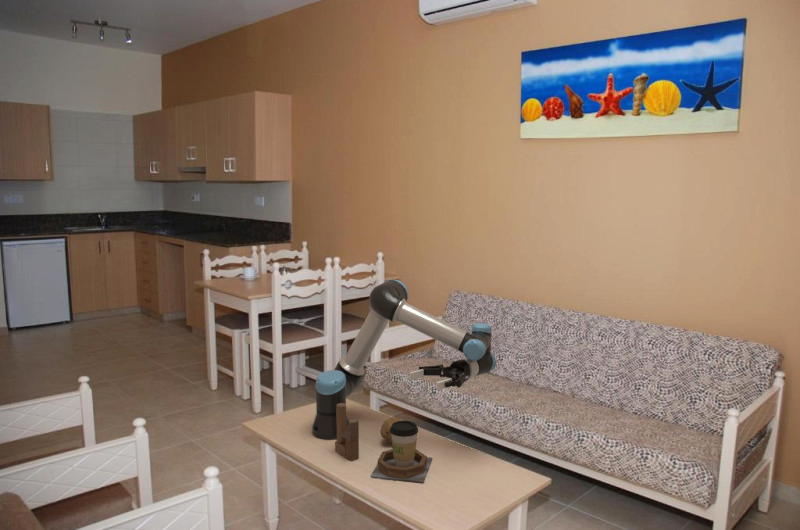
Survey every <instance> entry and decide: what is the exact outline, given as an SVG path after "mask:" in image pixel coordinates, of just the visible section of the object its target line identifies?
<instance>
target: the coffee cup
mask: <svg viewBox="0 0 800 530" xmlns="http://www.w3.org/2000/svg"><path fill="white" fill-rule="evenodd" d="M390 433H391V435H392V438H391V439H392V443H391V444H392V445H391V448H392V449H393V456H394V461H395V467H404V468H407V467H410V466H413V463H414V457H415V450H416V449H417V442H418V441H417V440H418V437H417V434H418V433H419V427H418V426H417V423H415V421H414V422H413V421H412V420H411V421H410V420H401V421H397V422H394V423H393V424H392V426H391V428H390Z"/></svg>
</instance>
